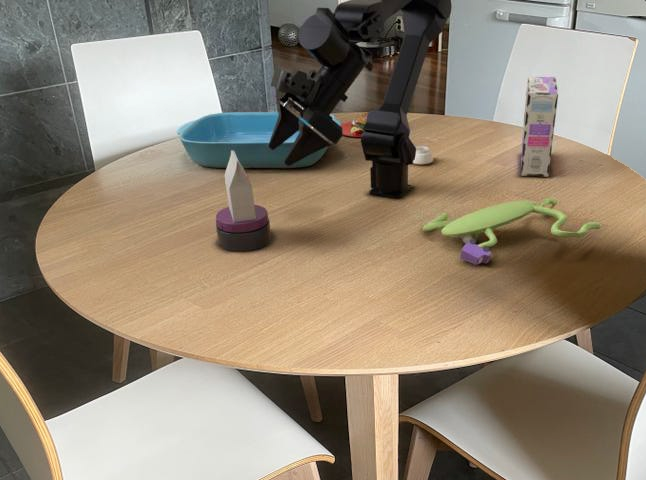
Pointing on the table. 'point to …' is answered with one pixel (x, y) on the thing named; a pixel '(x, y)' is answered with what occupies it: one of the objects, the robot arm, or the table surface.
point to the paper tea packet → (239, 191)
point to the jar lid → (227, 223)
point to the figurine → (498, 225)
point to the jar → (244, 239)
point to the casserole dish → (240, 140)
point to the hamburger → (355, 126)
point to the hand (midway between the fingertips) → (278, 156)
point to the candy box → (538, 126)
